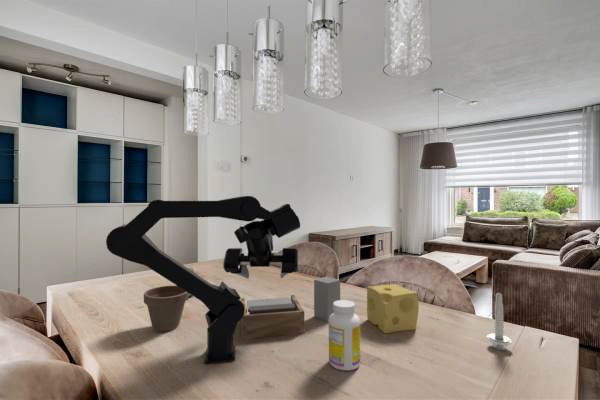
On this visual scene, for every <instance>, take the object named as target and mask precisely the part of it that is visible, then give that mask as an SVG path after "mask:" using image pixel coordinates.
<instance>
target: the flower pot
mask: <svg viewBox="0 0 600 400" xmlns="http://www.w3.org/2000/svg"><path fill="white" fill-rule="evenodd" d="M189 297H190V296H189V293H188V292H186V291H185V290H183V289H181V288H180V287H178V286H177V285H162V286H157V287H152V288H150V289H147V290H145V292H144V293H143V303H144V304H145V305H146V306H147V310H148V314H149V318H150V323H151V325H152V326H151V327H152V329H153V330H154V331H155V332H159V333H160V332H161V333H162V332H163V333H165V332H170V331H172V330H173V331H174V330H175V329H176V328H178V327H179V326H180V322H181V320H182V316H183V311H184V307H185V304H186V301H187V300H188V299H189Z"/></svg>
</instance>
